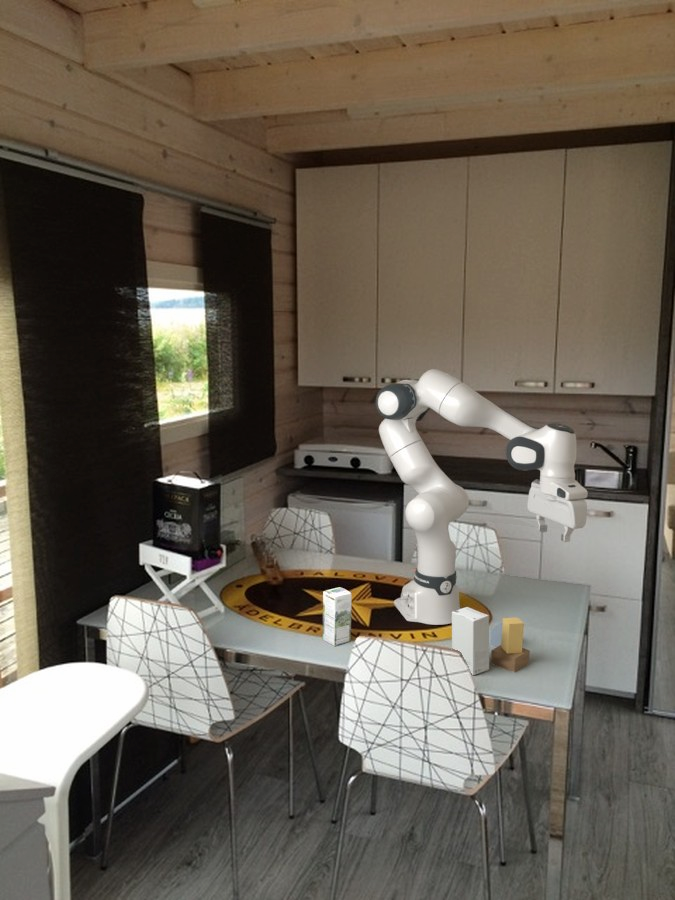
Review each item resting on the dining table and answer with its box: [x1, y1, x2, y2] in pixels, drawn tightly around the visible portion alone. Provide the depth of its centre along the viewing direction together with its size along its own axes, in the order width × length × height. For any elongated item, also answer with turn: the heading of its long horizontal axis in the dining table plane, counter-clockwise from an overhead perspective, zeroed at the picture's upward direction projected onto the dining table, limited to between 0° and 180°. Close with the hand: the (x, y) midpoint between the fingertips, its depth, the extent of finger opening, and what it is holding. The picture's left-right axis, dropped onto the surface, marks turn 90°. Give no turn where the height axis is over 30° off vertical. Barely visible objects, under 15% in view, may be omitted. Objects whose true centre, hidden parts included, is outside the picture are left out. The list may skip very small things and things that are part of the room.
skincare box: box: [451, 606, 490, 676], centre depth 206 cm, size 8×6×15 cm
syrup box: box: [321, 586, 353, 647], centre depth 221 cm, size 6×6×14 cm
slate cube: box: [489, 622, 503, 648], centre depth 220 cm, size 5×5×5 cm
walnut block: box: [490, 645, 530, 673], centre depth 209 cm, size 7×7×4 cm
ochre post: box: [501, 616, 525, 654], centre depth 208 cm, size 4×4×8 cm
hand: (553, 536), depth 214 cm, fingers open, 8 cm apart
